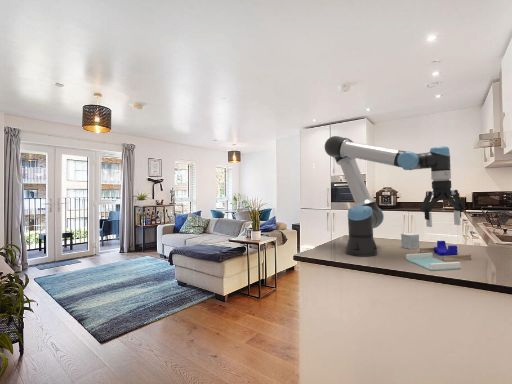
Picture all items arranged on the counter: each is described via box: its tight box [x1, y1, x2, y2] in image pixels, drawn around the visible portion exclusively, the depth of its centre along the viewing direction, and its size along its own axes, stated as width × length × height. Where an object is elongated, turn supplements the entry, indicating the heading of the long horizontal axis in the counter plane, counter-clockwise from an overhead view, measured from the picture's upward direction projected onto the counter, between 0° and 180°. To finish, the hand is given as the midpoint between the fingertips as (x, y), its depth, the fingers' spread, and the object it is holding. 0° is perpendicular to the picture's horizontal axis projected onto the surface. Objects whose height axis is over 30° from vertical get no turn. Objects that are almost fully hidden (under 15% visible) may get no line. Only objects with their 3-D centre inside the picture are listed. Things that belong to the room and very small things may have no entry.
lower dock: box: [405, 252, 461, 271], centre depth 116 cm, size 16×12×2 cm
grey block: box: [400, 232, 420, 250], centre depth 146 cm, size 6×6×7 cm
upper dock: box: [419, 246, 472, 262], centre depth 127 cm, size 16×12×2 cm
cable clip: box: [433, 240, 459, 257], centre depth 127 cm, size 12×4×6 cm, turn 170°
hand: (443, 225), depth 127 cm, fingers open, 13 cm apart
